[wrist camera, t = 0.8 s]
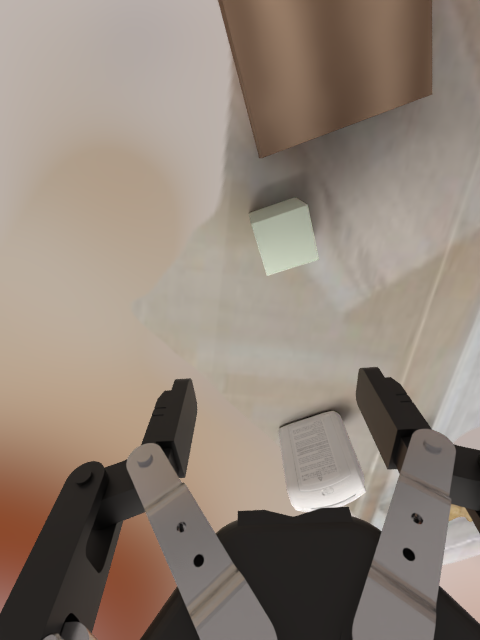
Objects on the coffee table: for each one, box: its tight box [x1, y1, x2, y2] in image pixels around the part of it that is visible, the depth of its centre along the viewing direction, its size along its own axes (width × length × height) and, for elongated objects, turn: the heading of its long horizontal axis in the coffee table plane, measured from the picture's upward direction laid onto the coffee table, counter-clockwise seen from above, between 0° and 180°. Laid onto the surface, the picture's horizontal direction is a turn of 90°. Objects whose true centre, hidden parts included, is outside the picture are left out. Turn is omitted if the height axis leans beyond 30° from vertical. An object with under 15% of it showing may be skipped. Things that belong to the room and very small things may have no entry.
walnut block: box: [218, 0, 432, 158], centre depth 22 cm, size 14×14×4 cm
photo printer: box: [279, 411, 366, 512], centre depth 41 cm, size 10×4×12 cm, turn 116°
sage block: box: [249, 197, 319, 276], centre depth 29 cm, size 5×5×6 cm
